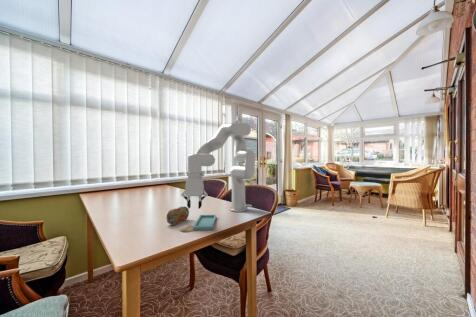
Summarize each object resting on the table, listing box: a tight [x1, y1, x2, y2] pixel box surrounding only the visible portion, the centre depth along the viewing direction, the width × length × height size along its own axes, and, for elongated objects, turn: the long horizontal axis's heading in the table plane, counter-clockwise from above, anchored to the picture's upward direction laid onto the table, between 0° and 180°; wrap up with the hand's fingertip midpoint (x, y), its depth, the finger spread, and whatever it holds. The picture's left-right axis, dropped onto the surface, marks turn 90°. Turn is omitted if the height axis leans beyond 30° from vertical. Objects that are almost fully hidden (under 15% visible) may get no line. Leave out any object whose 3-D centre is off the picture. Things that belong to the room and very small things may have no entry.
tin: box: [166, 206, 190, 226], centre depth 118 cm, size 15×3×8 cm, turn 149°
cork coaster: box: [179, 225, 195, 233], centre depth 107 cm, size 8×8×1 cm
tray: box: [192, 214, 217, 231], centre depth 116 cm, size 10×21×2 cm, turn 1°
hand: (194, 207), depth 115 cm, fingers open, 5 cm apart
